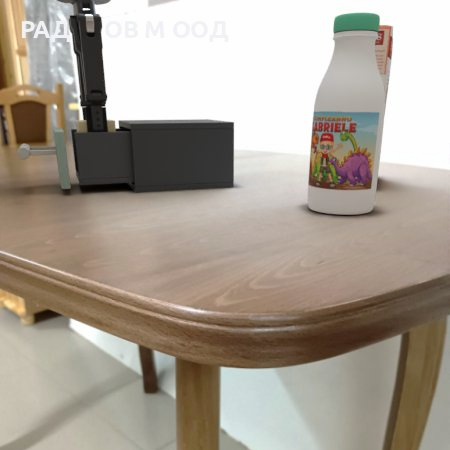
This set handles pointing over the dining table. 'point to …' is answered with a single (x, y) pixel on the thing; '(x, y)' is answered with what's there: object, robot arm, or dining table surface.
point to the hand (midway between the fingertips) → (98, 154)
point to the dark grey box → (181, 154)
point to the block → (82, 126)
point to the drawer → (90, 156)
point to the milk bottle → (348, 121)
